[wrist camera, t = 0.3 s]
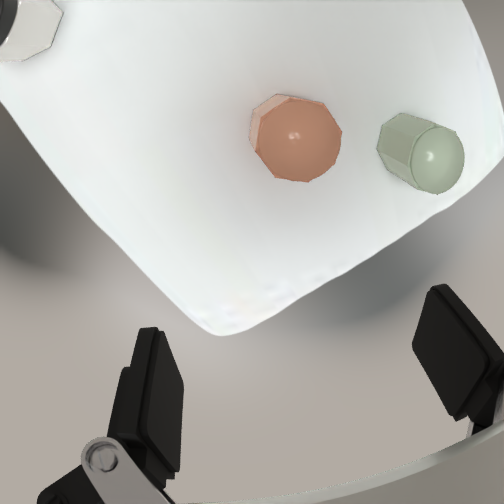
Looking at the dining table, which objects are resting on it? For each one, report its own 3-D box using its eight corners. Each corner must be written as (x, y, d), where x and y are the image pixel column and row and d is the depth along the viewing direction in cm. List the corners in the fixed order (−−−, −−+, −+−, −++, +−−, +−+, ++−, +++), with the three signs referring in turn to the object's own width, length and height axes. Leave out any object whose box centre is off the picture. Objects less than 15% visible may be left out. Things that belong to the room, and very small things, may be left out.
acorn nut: (413, 104, 32) (452, 114, 25) (435, 154, 36) (471, 172, 29) (368, 134, 34) (401, 149, 27) (393, 183, 38) (426, 207, 31)
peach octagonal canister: (292, 83, 31) (312, 83, 24) (329, 137, 34) (356, 152, 27) (236, 122, 33) (239, 133, 26) (276, 173, 36) (289, 198, 29)
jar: (23, -5, 20) (-34, -18, 9) (72, -4, 22) (17, -26, 12) (1, 58, 24) (-61, 64, 13) (46, 64, 26) (-16, 67, 15)
